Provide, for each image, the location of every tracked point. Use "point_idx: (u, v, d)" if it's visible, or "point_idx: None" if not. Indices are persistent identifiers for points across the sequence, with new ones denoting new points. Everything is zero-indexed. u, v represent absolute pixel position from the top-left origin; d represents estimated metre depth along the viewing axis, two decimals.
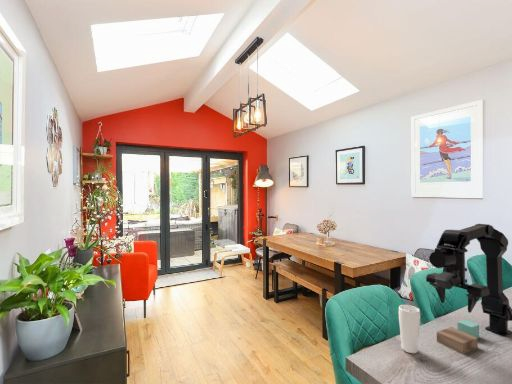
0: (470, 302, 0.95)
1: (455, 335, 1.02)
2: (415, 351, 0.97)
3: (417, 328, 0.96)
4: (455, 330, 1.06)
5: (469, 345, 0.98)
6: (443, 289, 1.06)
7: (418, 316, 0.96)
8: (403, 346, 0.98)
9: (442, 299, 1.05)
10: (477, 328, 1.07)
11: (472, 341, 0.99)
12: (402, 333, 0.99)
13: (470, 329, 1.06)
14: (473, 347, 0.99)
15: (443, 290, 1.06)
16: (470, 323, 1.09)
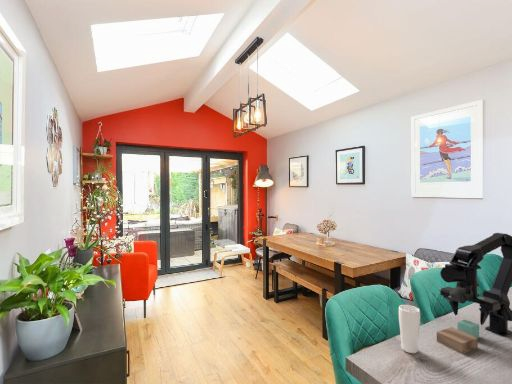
0: (482, 315, 1.03)
1: (455, 335, 1.02)
2: (415, 351, 0.97)
3: (417, 328, 0.96)
4: (455, 330, 1.06)
5: (469, 345, 0.98)
6: (456, 302, 1.14)
7: (418, 316, 0.96)
8: (403, 346, 0.98)
9: (455, 311, 1.13)
10: (477, 328, 1.07)
11: (472, 341, 0.99)
12: (402, 333, 0.99)
13: (470, 329, 1.06)
14: (473, 347, 0.99)
15: (456, 303, 1.14)
16: (470, 323, 1.09)
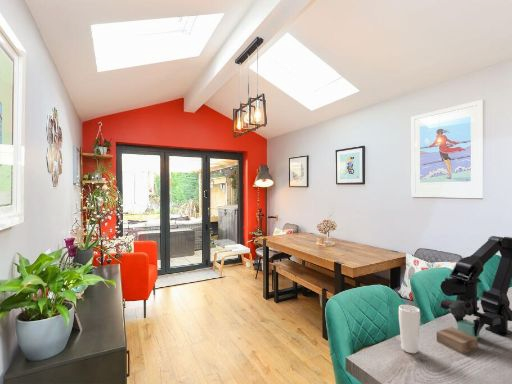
0: (476, 327, 1.05)
1: (455, 335, 1.02)
2: (415, 351, 0.97)
3: (417, 328, 0.96)
4: (455, 330, 1.06)
5: (469, 345, 0.98)
6: (461, 317, 1.12)
7: (418, 316, 0.96)
8: (403, 346, 0.98)
9: None
10: None
11: (472, 341, 0.99)
12: (402, 333, 0.99)
13: (470, 328, 1.06)
14: (473, 347, 0.99)
15: (461, 318, 1.12)
16: (470, 323, 1.09)
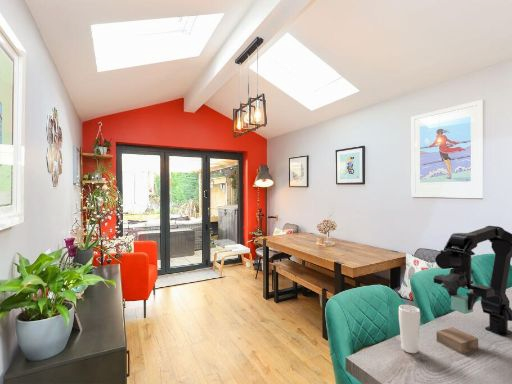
0: (470, 300, 1.02)
1: (455, 335, 1.02)
2: (415, 351, 0.97)
3: (417, 328, 0.96)
4: (456, 330, 1.05)
5: (468, 345, 0.98)
6: (455, 292, 1.09)
7: (418, 316, 0.96)
8: (403, 346, 0.98)
9: None
10: None
11: (472, 341, 0.99)
12: (402, 333, 0.99)
13: (463, 302, 1.03)
14: (473, 347, 0.99)
15: (455, 292, 1.09)
16: (464, 297, 1.06)
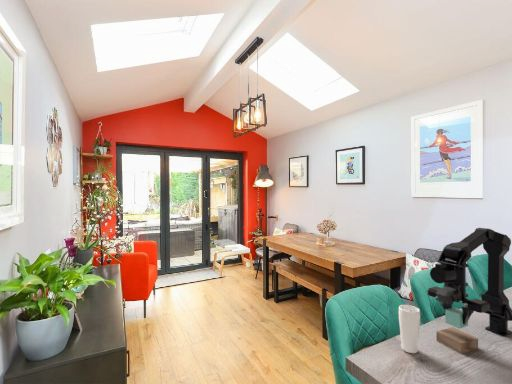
0: (465, 315, 0.99)
1: (455, 335, 1.02)
2: (415, 351, 0.97)
3: (417, 328, 0.96)
4: (456, 330, 1.05)
5: (468, 345, 0.98)
6: (449, 305, 1.06)
7: (418, 316, 0.96)
8: (403, 346, 0.98)
9: None
10: None
11: (472, 341, 0.99)
12: (402, 333, 0.99)
13: (458, 316, 1.00)
14: (473, 347, 0.99)
15: (449, 306, 1.05)
16: (458, 311, 1.02)
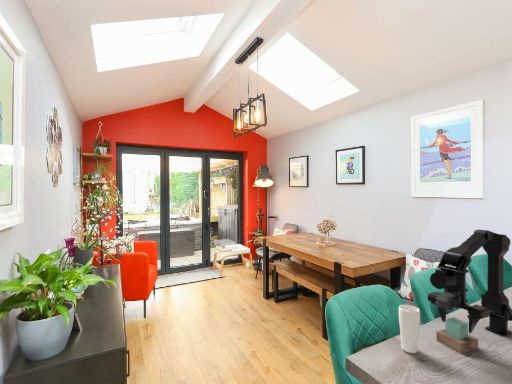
0: (471, 323, 0.97)
1: None
2: (415, 351, 0.97)
3: (417, 328, 0.96)
4: None
5: (468, 345, 0.98)
6: (444, 308, 1.07)
7: (418, 316, 0.96)
8: (403, 346, 0.98)
9: (443, 318, 1.06)
10: (466, 326, 1.01)
11: (472, 341, 0.99)
12: (402, 333, 0.99)
13: (458, 327, 1.00)
14: (473, 348, 0.99)
15: (444, 309, 1.07)
16: (458, 321, 1.02)
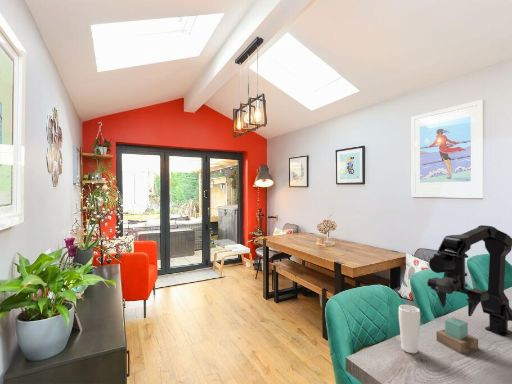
0: (470, 306, 0.98)
1: None
2: (415, 351, 0.97)
3: (417, 328, 0.96)
4: None
5: (468, 346, 0.98)
6: (444, 293, 1.09)
7: (418, 316, 0.96)
8: (403, 346, 0.98)
9: (443, 303, 1.08)
10: (465, 326, 1.01)
11: (472, 342, 0.99)
12: (402, 333, 0.99)
13: (458, 327, 1.00)
14: (473, 348, 0.99)
15: (444, 294, 1.09)
16: (458, 321, 1.02)
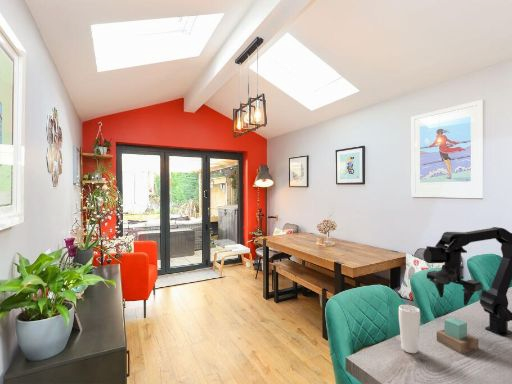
0: (466, 296, 1.07)
1: None
2: (415, 351, 0.97)
3: (417, 328, 0.96)
4: None
5: (468, 346, 0.98)
6: (442, 285, 1.18)
7: (418, 316, 0.96)
8: (403, 346, 0.98)
9: (441, 294, 1.17)
10: (465, 326, 1.01)
11: (472, 342, 0.99)
12: (402, 333, 0.99)
13: (457, 327, 1.00)
14: (473, 348, 0.99)
15: (442, 286, 1.18)
16: (457, 321, 1.02)
